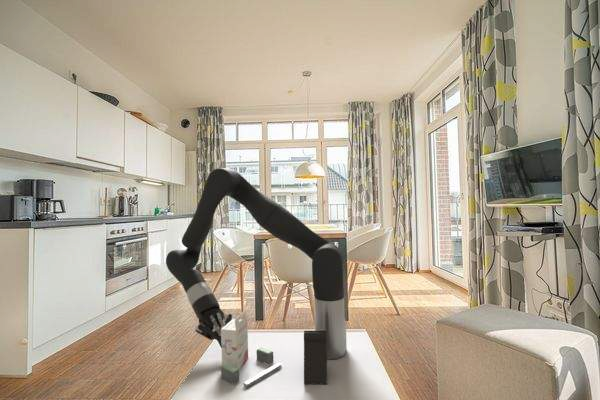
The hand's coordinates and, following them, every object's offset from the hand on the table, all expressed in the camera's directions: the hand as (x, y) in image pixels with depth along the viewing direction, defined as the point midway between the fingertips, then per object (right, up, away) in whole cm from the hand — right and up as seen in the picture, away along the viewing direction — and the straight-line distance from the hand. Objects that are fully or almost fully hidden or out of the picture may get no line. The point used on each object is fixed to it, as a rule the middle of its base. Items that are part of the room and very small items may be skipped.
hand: (227, 347), depth 101 cm
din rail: (+12, -4, -10) cm, 16 cm away
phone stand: (+26, -3, -10) cm, 28 cm away
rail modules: (+7, -4, -6) cm, 10 cm away
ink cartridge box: (+3, -4, -2) cm, 5 cm away
